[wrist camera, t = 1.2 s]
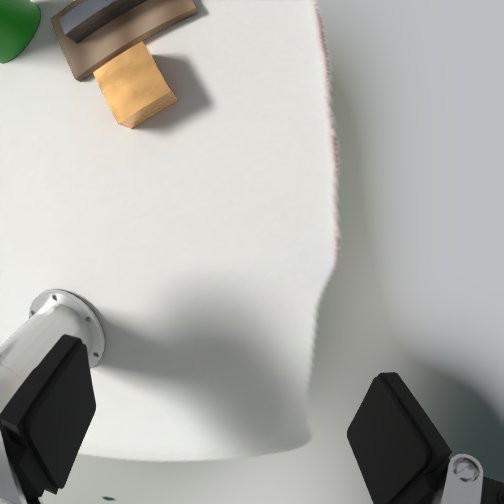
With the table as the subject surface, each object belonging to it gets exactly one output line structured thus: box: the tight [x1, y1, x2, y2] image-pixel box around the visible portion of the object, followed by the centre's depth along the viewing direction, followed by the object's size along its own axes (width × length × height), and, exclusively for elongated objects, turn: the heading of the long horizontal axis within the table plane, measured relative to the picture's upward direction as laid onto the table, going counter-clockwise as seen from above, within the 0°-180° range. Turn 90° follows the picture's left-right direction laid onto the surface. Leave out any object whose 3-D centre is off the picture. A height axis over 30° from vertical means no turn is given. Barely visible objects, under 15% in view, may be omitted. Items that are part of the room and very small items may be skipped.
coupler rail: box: [59, 0, 147, 44], centre depth 22 cm, size 12×3×4 cm, turn 118°
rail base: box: [51, 0, 197, 82], centre depth 25 cm, size 16×12×2 cm
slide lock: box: [93, 41, 178, 129], centre depth 27 cm, size 6×7×4 cm
